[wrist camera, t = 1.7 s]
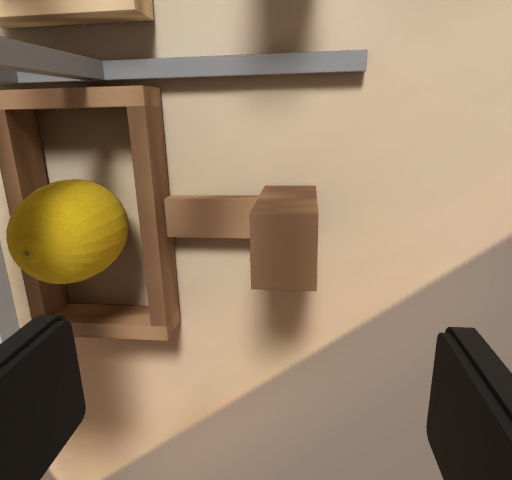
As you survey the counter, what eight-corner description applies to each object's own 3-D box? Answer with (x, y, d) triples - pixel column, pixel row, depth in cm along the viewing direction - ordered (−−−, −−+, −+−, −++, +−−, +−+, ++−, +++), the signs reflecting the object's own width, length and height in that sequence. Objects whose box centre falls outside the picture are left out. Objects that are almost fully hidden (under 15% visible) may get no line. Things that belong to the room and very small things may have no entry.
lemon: (156, 187, 26) (93, 220, 18) (136, 264, 27) (71, 323, 20) (74, 158, 26) (-24, 178, 18) (59, 236, 27) (-35, 284, 20)
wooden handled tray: (317, 82, 22) (321, 71, 16) (312, 325, 27) (314, 396, 20) (16, 92, 25) (-91, 86, 18) (58, 315, 29) (-16, 376, 23)
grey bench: (365, 51, 22) (427, -12, 11) (352, 305, 26) (384, 452, 15) (-10, 67, 25) (-282, 29, 13) (36, 294, 29) (-138, 412, 18)
